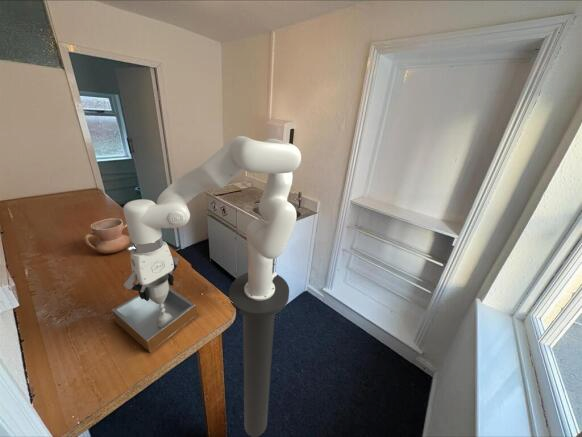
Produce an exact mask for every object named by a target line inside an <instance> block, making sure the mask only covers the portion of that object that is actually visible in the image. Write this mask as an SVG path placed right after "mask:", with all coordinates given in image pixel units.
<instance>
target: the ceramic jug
mask: <svg viewBox="0 0 582 437" xmlns="http://www.w3.org/2000/svg"><path fill="white" fill-rule="evenodd" d="M116 225H117V226H116ZM126 228H127V224H126V223H125V224H124V221H123V220H122V219H121V218H116V217H114V218H113V217H112V218H104V219H102V220H98V221H95V222H93V223H91V225H90V229H91V231H92V232H90V233H87V234H86V235H85V236H84V242H85V244H86V246H88V247H90V248H92V250H93V251H95V252H96V253H98V254H102V255H110V254H117V253H120V252H122V251H124V250H125V249H127V247H129V246H130V245H131V244H130V242H131V240H130V236H129V235H127V234H123V230H124V229H126ZM90 238H98V239H97V240H96V241H95V243H94V244H92V243H91V242H90V240H89V239H90Z"/></svg>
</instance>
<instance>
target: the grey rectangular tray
mask: <svg viewBox="0 0 582 437" xmlns="http://www.w3.org/2000/svg"><path fill="white" fill-rule="evenodd" d="M163 304H164V308H165V309H166V310H165V312H166V313H169V314H170V315H171V316H172V317H173V319H172V320H171V321H169V322H168V323H167V324H165V325H164V326H163V327H158V326H157V325H156V322H157V319H158V316H159V315H160V314H161V312H159V311H160V308H159V304H156V303H155V302H153V301H152V300H151V299H150V298H149V301H146V300H145V299H141V298H140V296H139V294H137V295H135V296H134V297H132V298H130V299H128V300H127V301H125V302H123V303H121V304H120V305H118V306H116V307H115V308H113V309H112V310H111V312H112V316H113V318H114V321H115V322H116V323H117V324H118V325H119V326H120V327H121V328H122V329H123V330H125V332H127V334H129V335H130V336H131V337H132V338H133V339H134V340H135V341H137V342H138V343H139V344H140V345H141V346H142V347H143V348H144V350H147V352H149V353H152V352H154V350H156V349H157V348H158V347H159V346H161V345H162V344H163V343H164V342H166V341H167V340H169V338H171V337H172V336H173V335H175V334H176V333H177V332H178V331H180V330H181V329H182V328H183V327H185V325H188V323H189V322H191V321H192V320H193V319H194V318H196V317H198V313H197V307H196V304H195V303H193V302H192V301H190V300H189V299H188V298H186V297H184V296H183V295H182V294H180V293H178V292H177V291H176V290H174V289H173V288H171V287H169V292H168V295H167V297H166V299H165V301H164V302H163Z"/></svg>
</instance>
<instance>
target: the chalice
mask: <svg viewBox="0 0 582 437" xmlns="http://www.w3.org/2000/svg"><path fill="white" fill-rule="evenodd" d="M168 278H169V275H168V273H167V274H166V275H164V276H162V277H160V278H158V279H157V280H155V281H153V282H151V283H149V284H147V285H146V288H145V289H146V290H147V291H148V295H149V298H150V299H151V300H152V301H153V302H155V303H156V304H159V308H160V311H159V312H161V314H160V315H159V316H158V319H157V322H156V325H157V326H158V327H163V326H164V325H165V324H167V323H168V322H169V321H171V320H172V319H173V317H172V316H171V315H170V314H169V313H166V312H165V310H166V309H165V308H164V304H163V302H164V301H165V299H166V297H167V295H168V292H169V288H170V285H169V284H168Z"/></svg>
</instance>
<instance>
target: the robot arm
mask: <svg viewBox="0 0 582 437" xmlns="http://www.w3.org/2000/svg"><path fill="white" fill-rule="evenodd" d="M301 162H302V153H301V151H300V150H299V148H298V147H297V146H296V145H294V144H293V143H289V142H286V141H283V140H281V139H278V138H267V139H265V140H264V141H261V140H255V139H252V138H251V137H247V136H244V135H238V136H235V137H233V138H232V139H230V140H228V141H227V143H225V144H224V145H223V146H222V147H221V148H220V149H218V150H217V151H216V152H215V153H214V154H212V155H211V156H210V157H209V158H207V160H205V161H204V162H203V163H202V164H201V165H199V166H198V167H196V168H193V169H191V170H190V171H188V172H187V173H185V174H183V175H181V176H180V177H178V178H177V179H176V180H174V181H173V182H172V183H171V184H170V185H169V186H167V187H166V188H165V189H164V190H163V191H162V192H161V193H160V194H159V195H158V197H157V200H156V203H155V201H153V200H151V199H145V198H144V199H143V198H141V199H133V200H131V201H128V202H127V203H125V204H124V206H123V207H122V212H123V216H124V221H125V224H127V227H126V228H127V232H128V236H130V244H129V246H128V247H127V248H126V250H127V252H128V253H130V268H131V275H130V276H129V277H128V278H127V280H126V281H125V282H124V284H123V287H124V288H125V289H128V290H132V291H135V292H138V295H139V296H140V298H141V299H145V300H146V301H149V295H148V291H147V290H146V289H145V288H146V285H147V284H149V283H151V282H153V281H155V280H157V279H158V278H160V277H162V276H164V275H166V274H167V273H168V275H169V278H168V284H169V287H170V286H171V287H173V286H174V285H175V284H174V279H175V277H174V275H175V271H176V269H177V267H178V264H179V262H180V258H179V257H177V256H172V253H171V250H170V247H169V245H168V243H167V242H166V241H164V239H163V233H162V229H178V228H182V227H184V226H186V224H188V223H189V221H190V218H191V212H190V210H189V208H188V205H187V204H188V203H189V202H190V201H191V200H193V199H194V198H196V197H197V196H198V195H199V194H201V193H205V192H206V191H216V190H221V189H223V188H225V187H226V186H227V185H228V184H229V183H231V181H232V180H233V179H234V178H236V177H237V176H239V174H240V173H241V172H242V171H245V172H248V173H253V174H255V173H256V174H267V179H266V183H265V187H264V189H263V193H262V195H261V197H260V200H259V204H258V212H259V214H260V215H261V217H263V218H264V219H263V218H256V219H254V220H252V221H250V222H249V224H248V225H247V227H246V231H245V237H246V243H247V252H248V253H247V256H248V258H247V273H248V282H247V283H246V285H245V287H244V292H245V294H246V296H247V297H248V298H250V299H252V300H256V301H262V300H266V299H268V298H270V297H271V296H272V295H273V294H274V292H275V285H274V283H273V282H272V280H273V278H274V277H276V276H277V275H278V274H277V272H276V271H273V265H274V263H273V262H274V260H275V259H277V258H278V257H280V256H281V255H282V254H283V253H284V251H285V249H286V247H287V245H288V243H289V240H290V238H291V236H292V232H293V230H294V228H295V225H296V222H297V216H298V215H297V209H296V207H295V206H294V205H293V203H291V202H290V201H288V199H289V198H288V197H289V194H290V191H291V188H292V185H293V176H294V175H293V172H294V171H296V170H297V169H298V168H299V166H300V165H301ZM135 281H136V283H135ZM134 283H135V284H134Z"/></svg>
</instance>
